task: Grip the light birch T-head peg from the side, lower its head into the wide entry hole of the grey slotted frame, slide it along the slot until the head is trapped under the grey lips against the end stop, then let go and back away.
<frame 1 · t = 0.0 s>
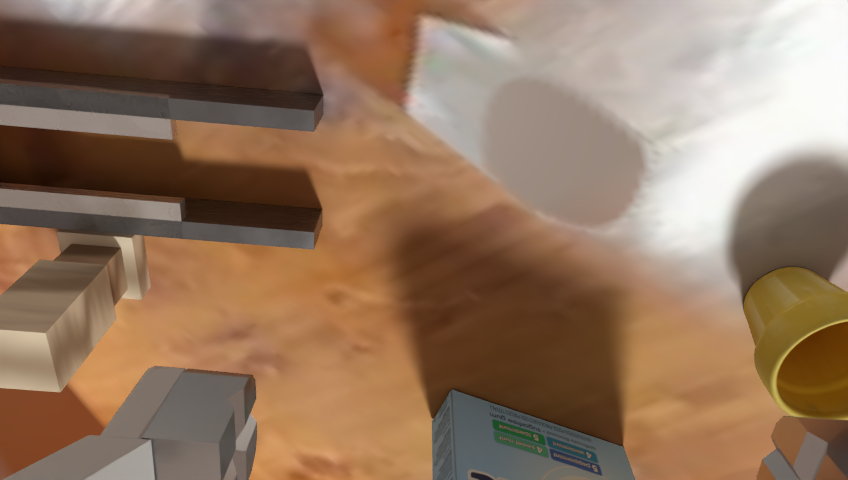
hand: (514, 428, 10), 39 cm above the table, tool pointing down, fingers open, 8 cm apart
grey slotted frame: (156, 149, 49), on the table
birch keyhole peg: (111, 254, 54), on the table
plant pot: (779, 297, 55), on the table
gum box: (530, 431, 63), on the table
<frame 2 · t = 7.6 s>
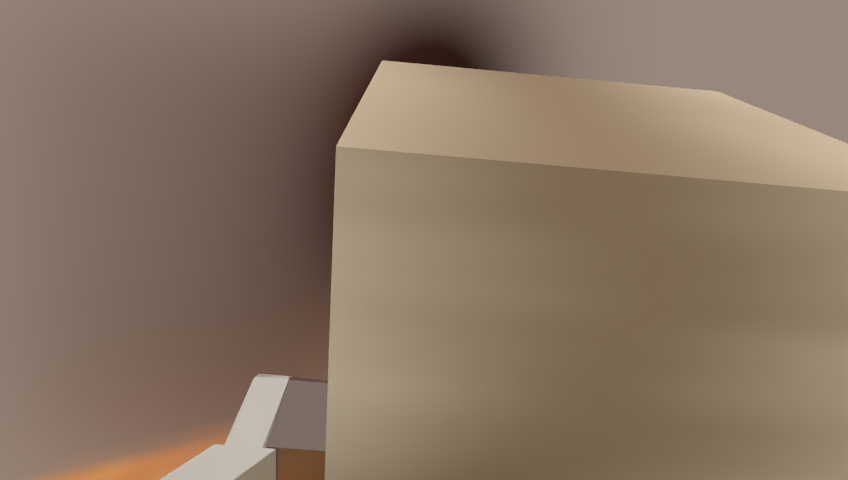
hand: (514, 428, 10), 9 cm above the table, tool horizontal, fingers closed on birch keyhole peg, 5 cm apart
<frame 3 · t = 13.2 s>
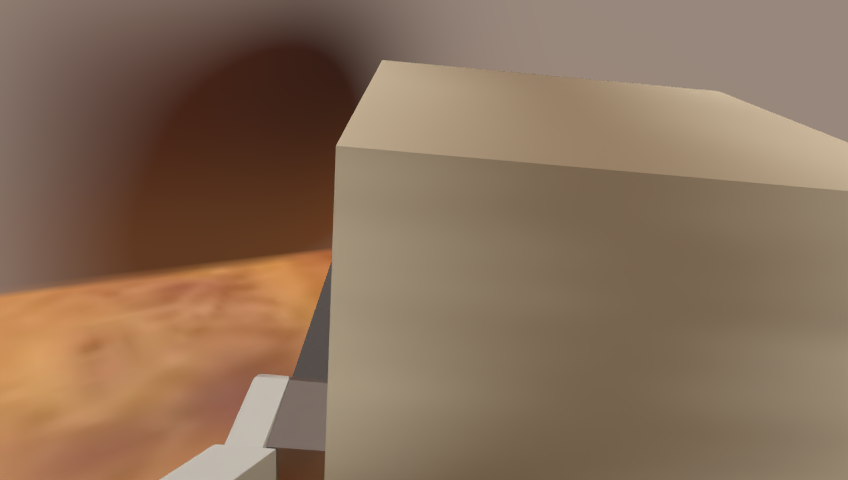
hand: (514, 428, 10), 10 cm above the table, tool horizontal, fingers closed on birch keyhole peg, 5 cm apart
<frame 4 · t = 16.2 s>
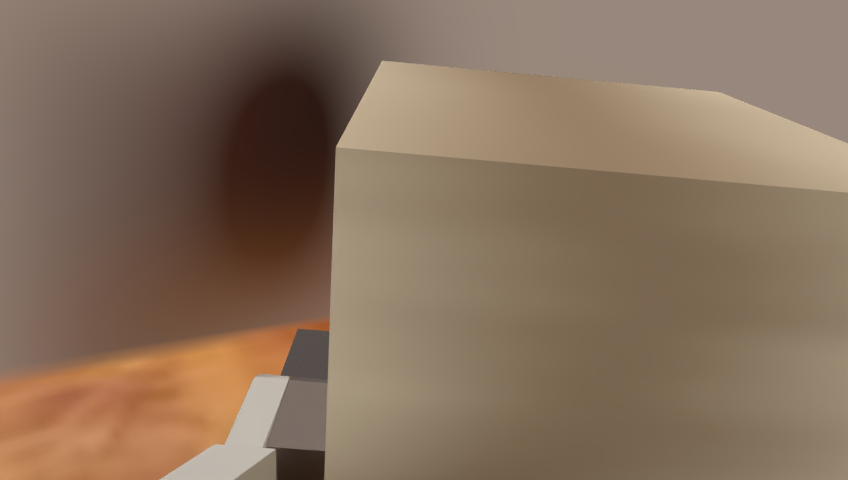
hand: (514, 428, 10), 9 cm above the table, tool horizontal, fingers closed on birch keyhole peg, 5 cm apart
when the fingers open (9 cm above the table, at t = 19.1 s): birch keyhole peg stays where it is, resting in grey slotted frame.
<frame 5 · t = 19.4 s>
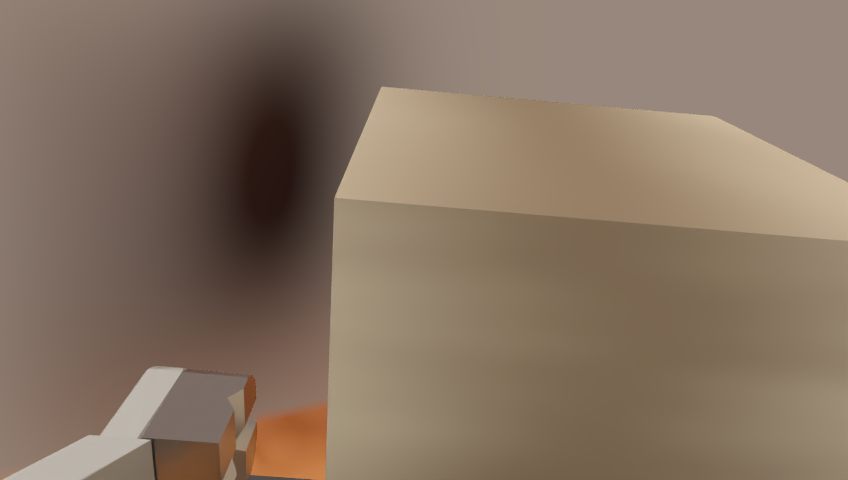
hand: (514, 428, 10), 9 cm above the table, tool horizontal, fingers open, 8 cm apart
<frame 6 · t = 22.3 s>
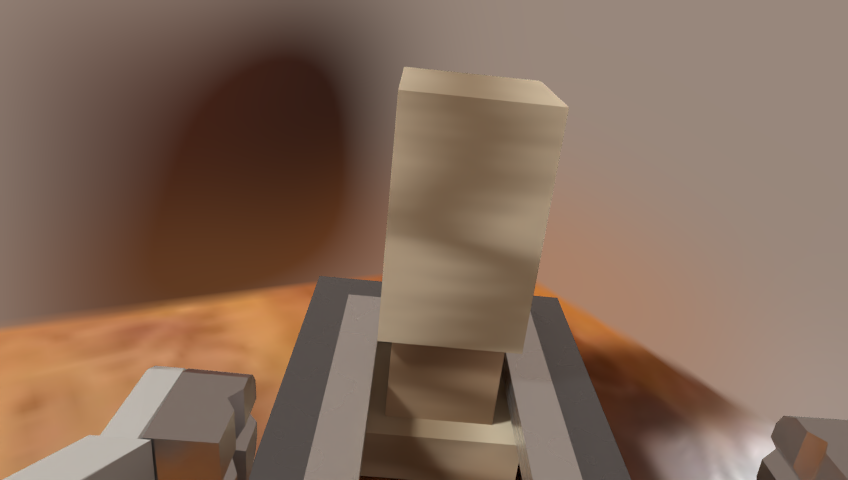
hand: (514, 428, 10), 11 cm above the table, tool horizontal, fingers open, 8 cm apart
birch keyhole peg: (432, 427, 26), resting in grey slotted frame
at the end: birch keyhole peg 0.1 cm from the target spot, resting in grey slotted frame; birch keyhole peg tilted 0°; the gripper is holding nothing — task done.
